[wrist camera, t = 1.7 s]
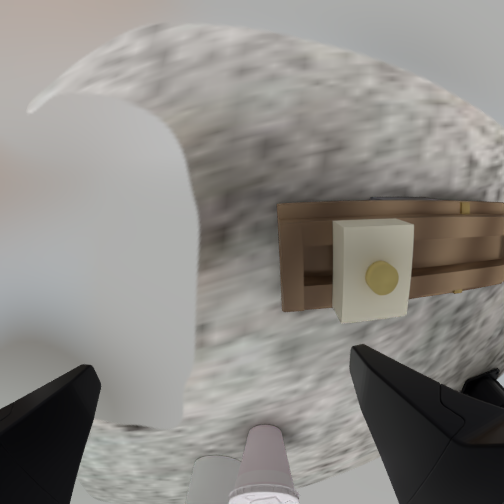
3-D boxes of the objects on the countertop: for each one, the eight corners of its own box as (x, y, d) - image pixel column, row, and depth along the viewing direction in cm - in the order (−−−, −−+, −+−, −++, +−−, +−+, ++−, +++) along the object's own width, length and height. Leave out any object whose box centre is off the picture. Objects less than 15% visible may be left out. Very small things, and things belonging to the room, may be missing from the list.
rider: (385, 215, 17) (421, 227, 13) (382, 290, 18) (412, 321, 14) (326, 217, 17) (348, 230, 13) (327, 296, 19) (344, 331, 14)
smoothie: (304, 424, 27) (317, 535, 13) (278, 454, 28) (280, 553, 15) (248, 410, 26) (239, 529, 13) (228, 442, 28) (213, 545, 14)
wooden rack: (482, 199, 20) (524, 206, 14) (477, 270, 22) (515, 290, 16) (274, 200, 21) (279, 207, 16) (279, 289, 23) (284, 325, 17)
